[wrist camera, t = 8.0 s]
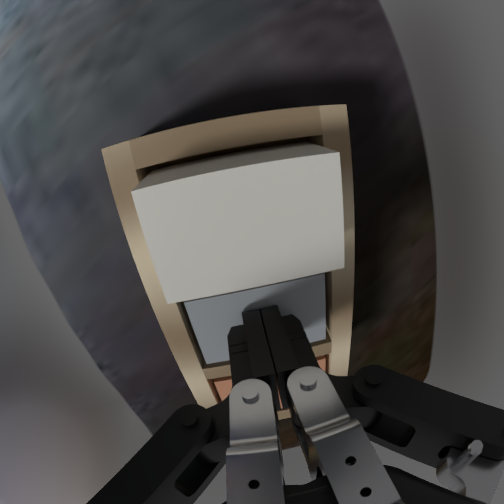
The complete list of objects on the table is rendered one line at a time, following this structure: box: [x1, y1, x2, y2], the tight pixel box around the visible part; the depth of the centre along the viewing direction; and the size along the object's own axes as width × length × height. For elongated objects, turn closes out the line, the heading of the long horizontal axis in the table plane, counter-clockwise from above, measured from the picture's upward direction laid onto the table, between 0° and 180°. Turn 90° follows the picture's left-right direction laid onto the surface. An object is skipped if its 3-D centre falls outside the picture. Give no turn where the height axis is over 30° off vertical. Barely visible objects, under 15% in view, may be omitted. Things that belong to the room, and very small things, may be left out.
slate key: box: [184, 272, 326, 364], centre depth 13 cm, size 4×6×3 cm, turn 99°
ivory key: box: [131, 142, 344, 304], centre depth 9 cm, size 4×6×3 cm, turn 99°
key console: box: [101, 104, 355, 420], centre depth 15 cm, size 16×8×6 cm, turn 9°
